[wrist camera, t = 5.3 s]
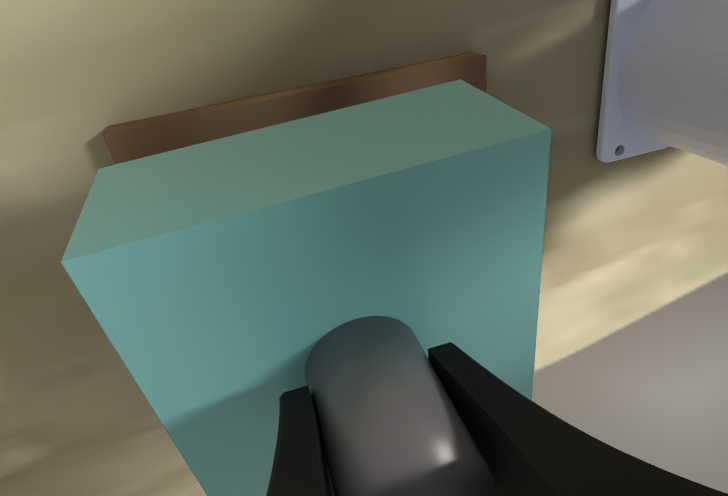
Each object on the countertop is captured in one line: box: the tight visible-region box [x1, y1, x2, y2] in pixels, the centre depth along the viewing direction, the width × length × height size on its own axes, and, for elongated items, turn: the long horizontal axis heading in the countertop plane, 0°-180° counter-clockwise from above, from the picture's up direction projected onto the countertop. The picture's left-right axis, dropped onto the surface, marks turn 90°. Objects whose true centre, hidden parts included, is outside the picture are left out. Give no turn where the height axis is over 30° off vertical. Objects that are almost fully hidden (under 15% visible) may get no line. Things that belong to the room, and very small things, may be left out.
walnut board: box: [103, 53, 486, 164], centre depth 21 cm, size 14×12×1 cm
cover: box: [61, 79, 552, 496], centre depth 13 cm, size 10×10×8 cm
